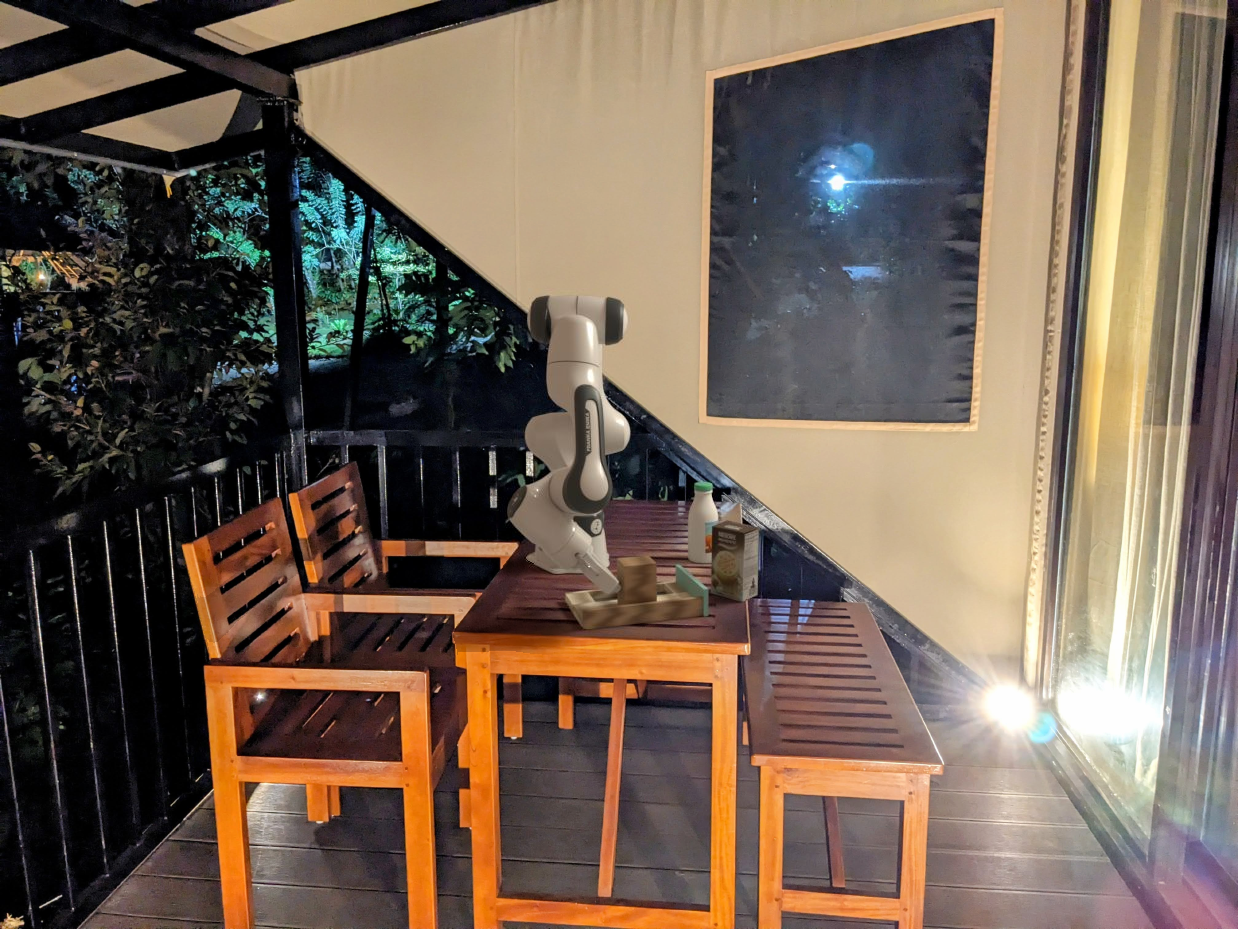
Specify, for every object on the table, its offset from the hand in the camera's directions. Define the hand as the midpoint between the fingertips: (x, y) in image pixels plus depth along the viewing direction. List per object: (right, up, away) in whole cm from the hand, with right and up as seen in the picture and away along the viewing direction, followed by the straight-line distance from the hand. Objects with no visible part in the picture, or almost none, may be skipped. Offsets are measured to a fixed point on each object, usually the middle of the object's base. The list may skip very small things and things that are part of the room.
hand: (617, 588), depth 191 cm
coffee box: (+26, -4, +14) cm, 30 cm away
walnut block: (+4, -4, +2) cm, 6 cm away
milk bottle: (+22, +2, +40) cm, 46 cm away
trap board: (+3, -5, +6) cm, 9 cm away
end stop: (+16, -4, +9) cm, 19 cm away
